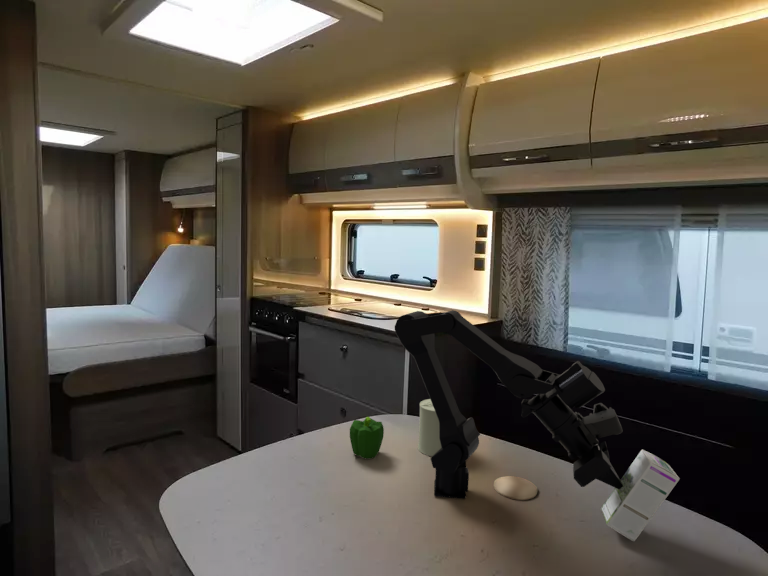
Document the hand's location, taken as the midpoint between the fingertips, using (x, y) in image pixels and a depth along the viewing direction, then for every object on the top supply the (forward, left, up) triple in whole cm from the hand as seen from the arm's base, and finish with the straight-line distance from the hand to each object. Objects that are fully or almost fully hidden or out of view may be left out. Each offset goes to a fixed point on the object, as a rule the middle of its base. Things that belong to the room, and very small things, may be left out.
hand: (620, 486), depth 92 cm
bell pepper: (-50, +24, -9) cm, 57 cm away
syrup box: (0, 0, -8) cm, 8 cm away
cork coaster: (-16, +13, -9) cm, 23 cm away
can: (-33, +30, -9) cm, 46 cm away
